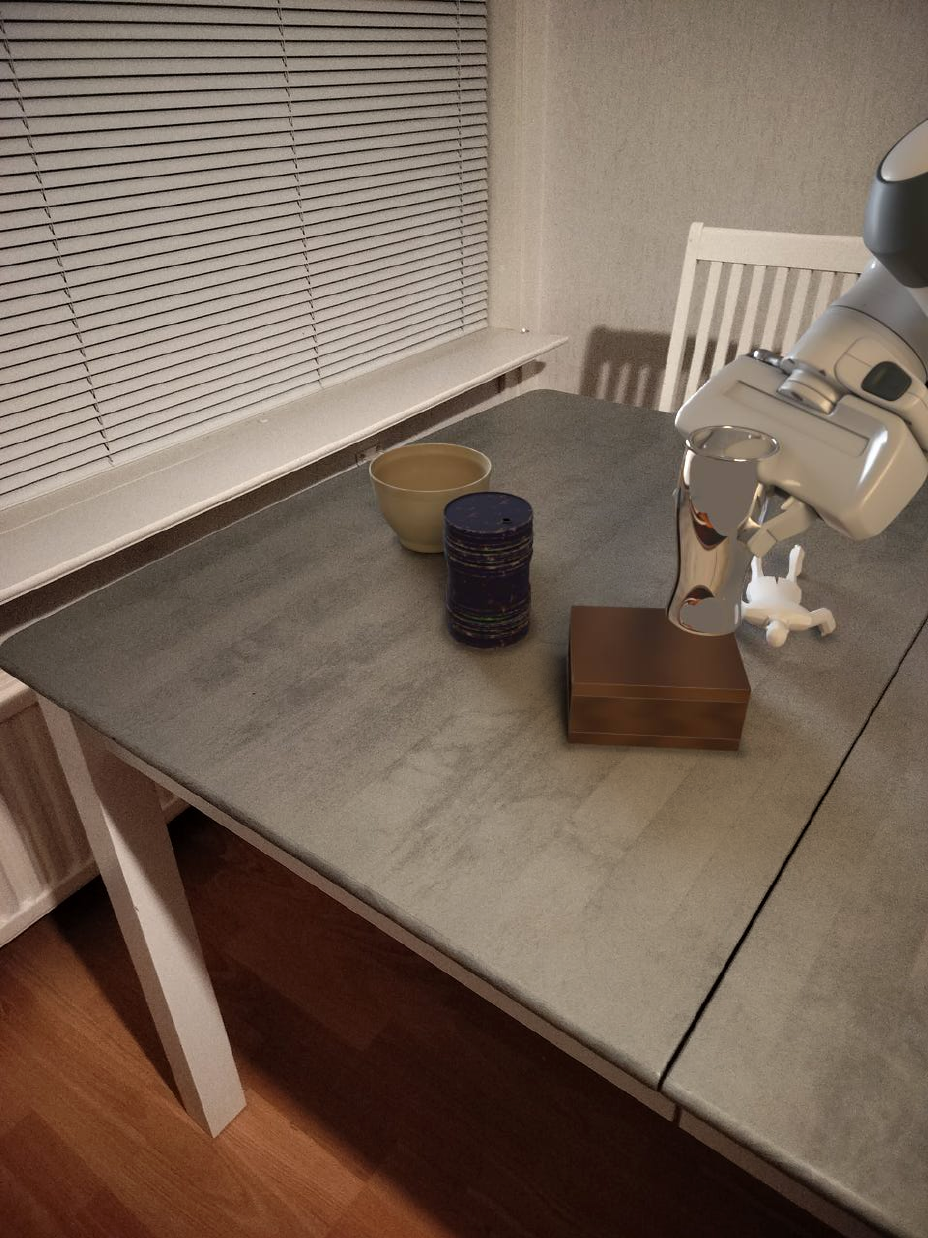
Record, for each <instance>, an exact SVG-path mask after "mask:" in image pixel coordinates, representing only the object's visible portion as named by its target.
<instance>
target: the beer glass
mask: <svg viewBox="0 0 928 1238" xmlns="http://www.w3.org/2000/svg"><path fill="white" fill-rule="evenodd" d="M748 439H762V440H765V441H767V442H768V443H770V444H771V445H772V446H773V448H774V450H775V451H774V452H772V453H771V454H769V455H766V456H762V457H757V458H728V457H726V456H725V455H724V454H723V452H724V450H725V449H726V448H728V447H729V446H730V445H732V444H734V443H737V442H740V441H743V440H748ZM780 451H781V443H780V442H779V441H778V439H776V438H775V437H774V436H772V435H770V434H768V433H766V432H763V431H760V430H757V429H753V428H749V427H743V426H734V425H714V426H707V427H702V428H699V429H696V430H694V431H692V432H691V433H690V434H689V435H688V436H687V439H685V447H684V451H683V455H682V459H681V465H680V467H679V473H678V478H677V482H676V483H677V484H676V488H677V489H676V488H675V489H676V499H674V538H675V556H676V557H675V558H676V559H675V561H676V566H675V567H676V568H675V577H674V580H673V584H672V588H671V590H670V593H669V596H668V598H667V601H666V604H665V608H666V615H667V617H668V619H669V620H670V621H671V622H672V623H673V624H674V625H675V626H677V627H678V628H680V629H682V630H684V631H686V632H689V633H692V634H696V635H702V636H720V635H725V634H728V633H731V632H733V633H734V632H735V631H736V630H738V629H739V628H740V626H741V625H742V623H743V618H742V601H743V591H744V584H745V581H746V578H747V575H748V573H749V569H750V567H751V562H752V560H753V558H754V555H753V554H751V553H750V552H748V551H747V550H746V549H744V548H743V546H742V545H740V544H739V542H738V537H739V536H740V534H741V533H743V532H745V531H746V529H747V528H748V527H749V526H750V525H751V524H752V523H753V522H755V523H757V524H759V525H760V526H761V524H763V523H765V522H767V521H769V520H770V516H771V512H772V508H773V505H774V500H775V496H776V495H775V489H776V485H775V484H774V480H775V476H776V473H777V469H778V465H779V457H780Z"/></svg>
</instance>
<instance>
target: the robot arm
mask: <svg viewBox="0 0 928 1238" xmlns="http://www.w3.org/2000/svg"><path fill="white" fill-rule="evenodd" d="M863 215H864V216H863V222H862V223H863V224H862V242H863V244H864V245H865V247H866V248H867V250H868V251H869V252H870V253H871V254H872V256H871V257H870V258H869V259H868V261H867V262H866V264H865V266H864V267H863V270H862V271H861V274H860V276H859V278H858V279H857V281H856V282H855V284H854V285H853V286H852V287H851V288H850V289H849V290H848V291H847V292H846V293H844V294H843V295H842V296H840V297H839V298H837V299H836V300H834V301H833V302H831V303H830V304H829V305H828V306H827V308H826V309H825V310H824V311H823V312H822V313H821V314H820V315H819V316H818V318H816V319H815V321H814V322H813V323H812V325H811V326H810V327H808V329H807V330H806V331H805V332H804V333H803V334H802V335H801V337H800V338H799V339H798V340H797V342H796V343H795V344H794V345H793V346H792V347H791V348H790V349H789V350H788V351H787V353H786V354H785V355H784V356H783V355H778V354H777V353H776V354H775V353H774V352H773V351H771V350H769V349H766V348H758V349H756V350H755V351H751V352H747V353H745V354H739V355H738V356H737V357H735V358H734V360H732V361H730V362H729V363H727V364H725V365H723V367H721V368H720V369H719V370H717V372H715V374H713V375H712V376H711V377H710V378H709V379H708V380H707V381H706V382H705V383H704V384H703V385H702V386H700V388H698V390H696V391H695V392H694V394H692V396H690V398H688V399H687V400H686V402H685V403H684V404H683V405H682V406H681V407H680V408H679V409H678V411H677V412H676V417H675V419H674V428H675V430H676V431H678V433H679V434H680V435H681V436H682V438H684V440H686V439H687V436H688V435H689V434H690V433H691V432H692V431H694V430H696V429H699V428H702V427H707V426H714V425H734V426H743V427H749V428H753V429H757V430H760V431H763V432H766V433H768V434H770V435H772V436H774V437H775V438H776V439H778V441H779V442H780V443H781V451H780V457H779V465H778V469H777V473H776V476H775V480H774V484H775V485H776V489H775V495H774V496H776V497H779V498H780V499H782V500H784V502H783V503H782V504H781V506H780V509H781V510H782V512H781V513H780V514H778V515H776V516H775V517H772V518H771V519H769V520H768V521H767V522H765V523H763V524H761V526H760V525H759V524H757V523H755V522H753V523H752V524H751V525H750V526H749V527H748V528H747V529H746V531H745V532H743V533H741V534H740V536H739V537H738V542H739V544H740V545H742V546H743V548H744V549H746V550H747V551H748V552H750V553H751V554H753V555H754V556H756V557H757V558H761V559H762V558H763V557H764V556H765V555H766V554H767V553H768V552H769V551H770V549H771V548H773V546H775V544H776V543H780V542H783V541H784V540H786V539H790V538H791V537H794V536H796V535H799V534H801V533H803V532H805V531H807V530H808V529H809V528H810V526H812V525H813V523H814V522H815V521H816V520H818V521H820V522H822V523H823V524H825V525H826V526H828V527H830V528H831V529H833V530H836V532H838V533H840V534H842V535H844V536H846V537H847V538H849V539H851V540H852V541H855V542H861V541H864V540H868V539H871V538H873V537H876V536H878V535H880V534H881V533H882V532H883V531H884V530H886V528H887V527H888V526H889V525H890V524H891V523H892V522H893V521H894V520H895V519H896V518H897V517H898V516H899V514H900V513H901V512H902V511H903V510H904V509H905V508H906V506H907V505H908V504H909V503H910V501H911V500H912V499H913V498H914V496H915V495H916V494H917V493H918V491H919V490H920V489H921V487H922V486H923V485H924V483H925V481H926V479H927V478H928V387H927V386H926V383H927V382H928V117H926V118H925V119H924V120H923V121H921V122H920V123H918V124H916V126H914V127H913V128H911V129H910V130H909V131H907V133H905V134H904V135H903V136H902V137H900V139H899V140H898V141H896V143H895V144H893V146H892V147H891V148H890V149H889V150H888V151H887V152H886V153H885V155H884V156H883V157H882V159H881V161H880V162H879V164H878V165H877V168H876V170H875V173H874V176H873V179H872V181H871V184H870V188H869V190H868V195H867V200H866V204H865V209H864V214H863ZM774 451H775V450H774V448H773V446H772V445H771V444H770V443H768V442H767V441H765V440H762V439H748V440H743V441H740V442H737V443H734V444H732V445H730V446H729V447H728V448H726V449H725V450H724V452H723V454H724V455H725V456H726V457H728V458H757V457H762V456H766V455H769V454H771V453H772V452H774ZM676 489H677V487H676V488H675V489H674V490H673V492H672V495H671V496H672V499H673V500H675V499H676Z"/></svg>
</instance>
